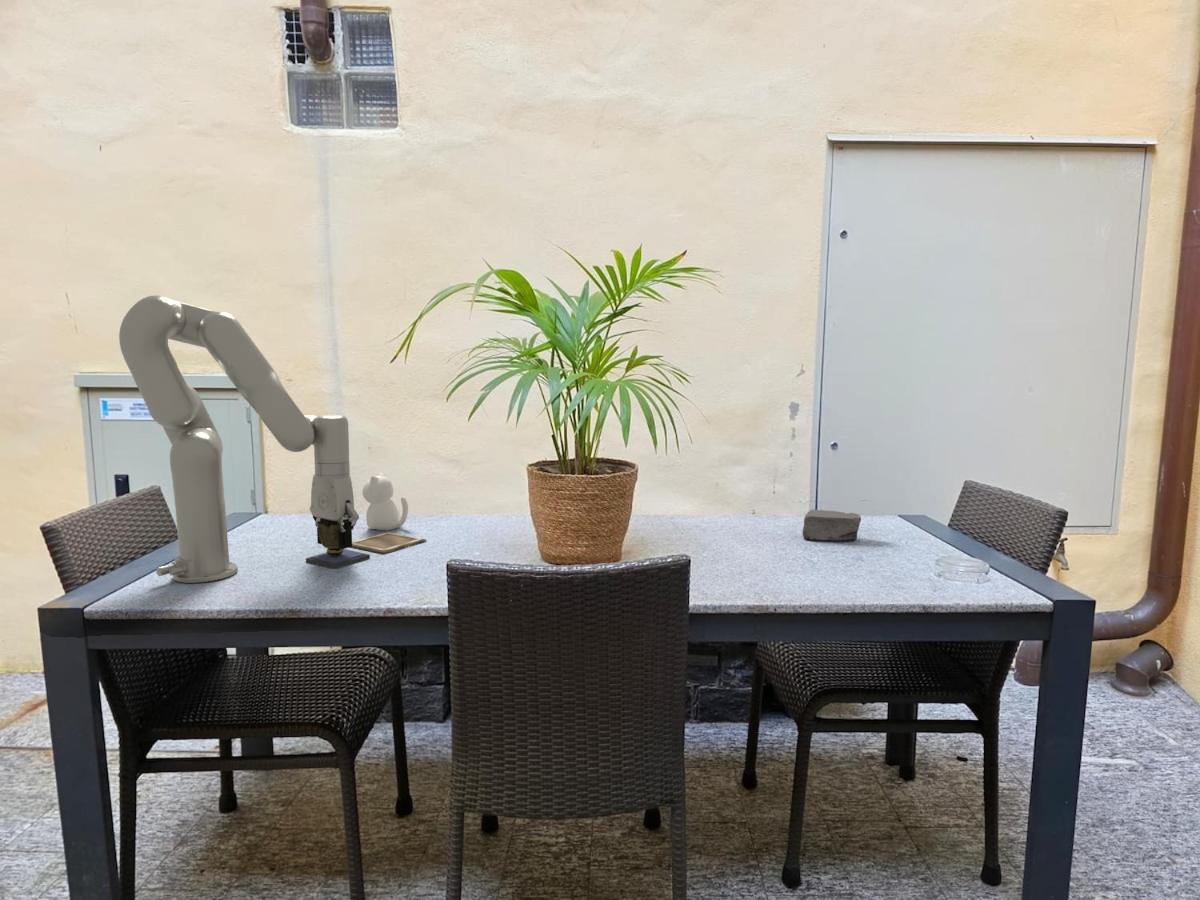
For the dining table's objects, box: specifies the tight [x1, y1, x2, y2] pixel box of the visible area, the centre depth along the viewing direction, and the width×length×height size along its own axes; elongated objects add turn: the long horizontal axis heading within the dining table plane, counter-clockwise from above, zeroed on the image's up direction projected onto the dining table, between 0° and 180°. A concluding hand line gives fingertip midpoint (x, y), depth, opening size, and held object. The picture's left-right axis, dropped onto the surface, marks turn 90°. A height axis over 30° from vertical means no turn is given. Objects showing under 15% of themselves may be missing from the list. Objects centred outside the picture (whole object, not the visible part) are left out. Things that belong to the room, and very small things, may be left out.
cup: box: [317, 519, 346, 556], centre depth 179 cm, size 8×7×8 cm
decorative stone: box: [802, 509, 862, 543], centre depth 197 cm, size 15×7×10 cm
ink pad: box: [305, 548, 371, 570], centre depth 180 cm, size 10×10×1 cm
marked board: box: [351, 531, 427, 555], centre depth 194 cm, size 14×14×1 cm
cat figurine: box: [362, 471, 409, 531], centre depth 209 cm, size 9×12×15 cm
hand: (334, 544), depth 179 cm, fingers closed on cup, 7 cm apart
